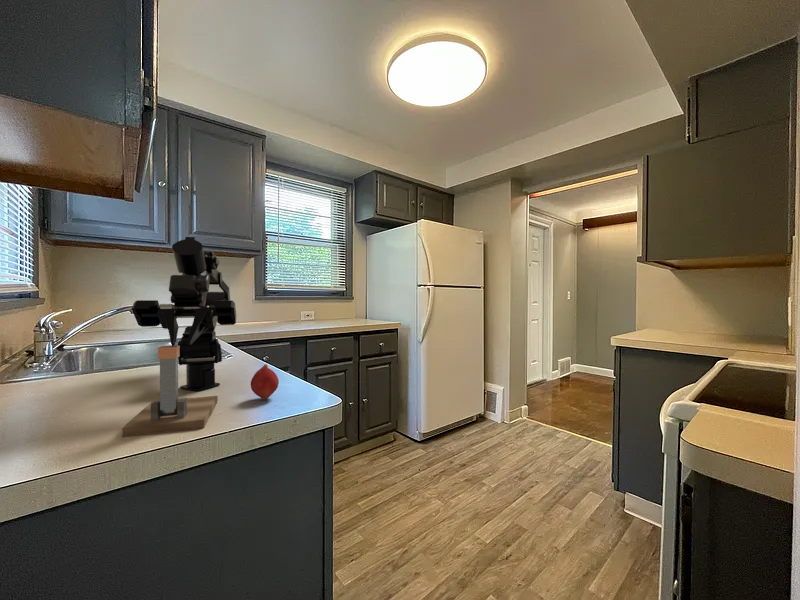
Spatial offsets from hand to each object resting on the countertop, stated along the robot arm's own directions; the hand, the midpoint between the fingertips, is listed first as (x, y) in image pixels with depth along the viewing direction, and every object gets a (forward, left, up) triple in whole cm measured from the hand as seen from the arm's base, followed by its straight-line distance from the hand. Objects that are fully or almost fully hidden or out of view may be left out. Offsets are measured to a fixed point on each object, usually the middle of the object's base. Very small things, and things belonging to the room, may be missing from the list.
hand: (180, 344), depth 70 cm
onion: (+9, +13, -14) cm, 21 cm away
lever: (+6, -6, -11) cm, 13 cm away
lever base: (+3, -3, -14) cm, 14 cm away
